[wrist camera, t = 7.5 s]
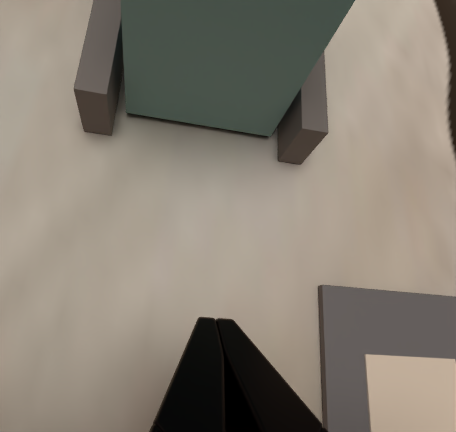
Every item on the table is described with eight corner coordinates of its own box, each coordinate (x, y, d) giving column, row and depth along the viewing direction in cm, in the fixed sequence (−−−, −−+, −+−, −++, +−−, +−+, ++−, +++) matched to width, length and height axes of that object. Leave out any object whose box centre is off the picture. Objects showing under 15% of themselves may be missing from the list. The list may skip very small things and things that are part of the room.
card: (512, 553, 15) (524, 559, 15) (328, 564, 14) (334, 571, 13) (469, 299, 19) (478, 298, 18) (318, 286, 17) (323, 284, 17)
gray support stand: (315, 166, 19) (371, 108, 15) (65, 128, 17) (38, 45, 12) (309, 7, 23) (352, -80, 18) (103, -42, 21) (94, -155, 16)
